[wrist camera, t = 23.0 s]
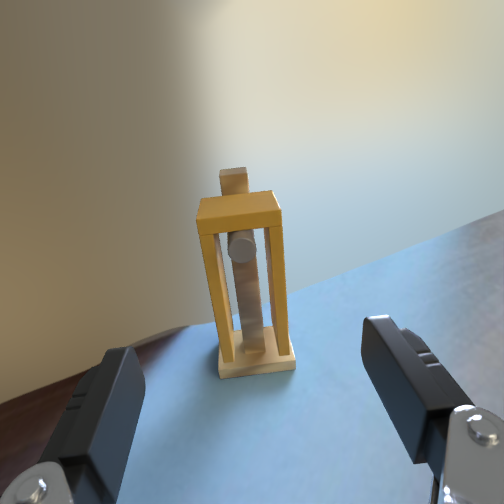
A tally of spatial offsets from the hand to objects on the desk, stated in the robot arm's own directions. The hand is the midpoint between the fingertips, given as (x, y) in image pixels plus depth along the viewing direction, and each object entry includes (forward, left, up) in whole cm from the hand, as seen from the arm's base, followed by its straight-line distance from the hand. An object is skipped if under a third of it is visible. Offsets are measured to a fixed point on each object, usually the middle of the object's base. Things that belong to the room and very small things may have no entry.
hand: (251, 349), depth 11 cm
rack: (-6, +11, -15) cm, 19 cm away
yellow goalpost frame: (-5, +9, -9) cm, 14 cm away
